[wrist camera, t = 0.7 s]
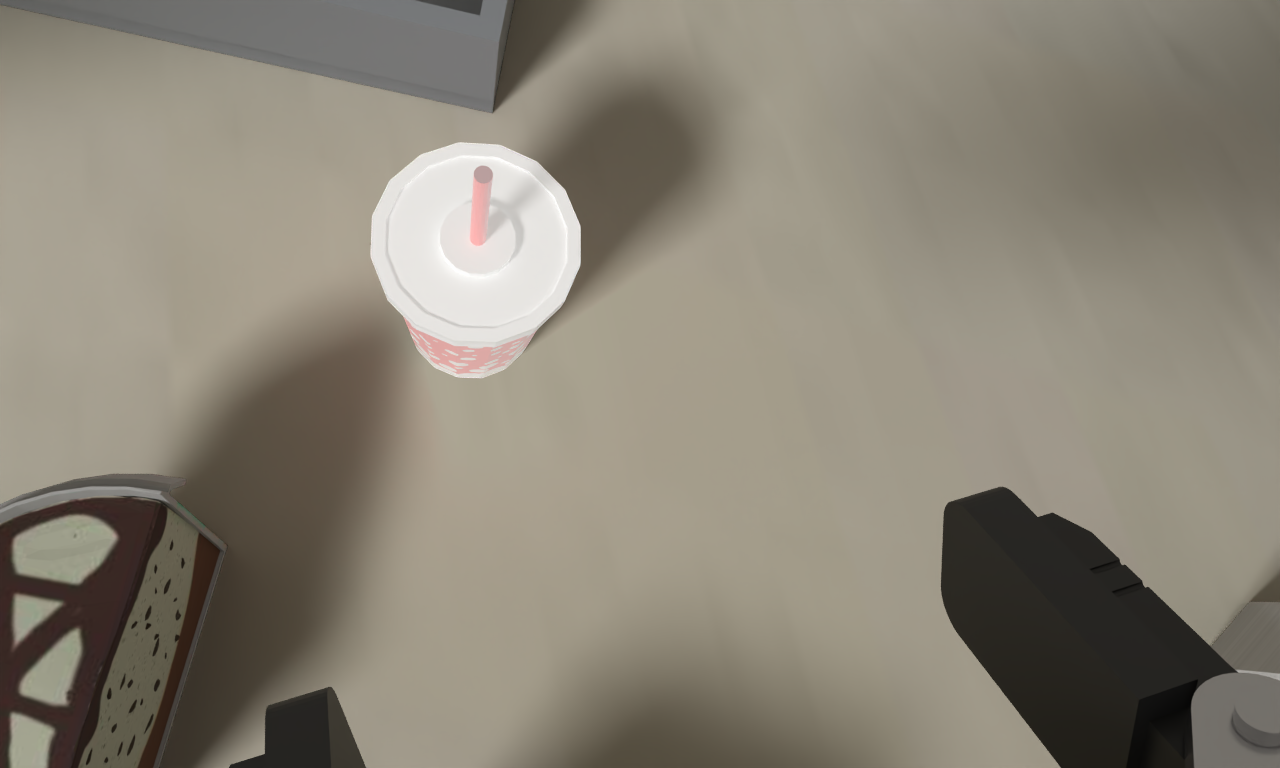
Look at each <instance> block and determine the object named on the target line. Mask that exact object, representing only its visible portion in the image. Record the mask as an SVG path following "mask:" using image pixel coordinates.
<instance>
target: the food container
mask: <svg viewBox="0 0 1280 768" xmlns="http://www.w3.org/2000/svg"><path fill="white" fill-rule="evenodd" d="M185 484H186V479H183V478H176V477H169V476H162V475H155V474H109V475H102V476H95V477H88V478H81V479H74V480H71V481H67V482H64V483H60V484H57V485H53V486H50V487H47V488H43V489H40V490H36V491H33V492H29V493H26V494H23V495H20V496H18V497H16V498H13V499H11V500H9V501H6V502H4V503H2V504H0V768H159V766H160V763H161V760H162V757H163V754H164V750H165V747H166V744H167V741H168V737H169V734H170V731H171V728H172V724H173V721H174V718H175V715H176V711H177V708H178V705H179V702H180V698H181V695H182V692H183V689H184V685H185V682H186V679H187V676H188V673H189V669H190V666H191V663H192V660H193V656H194V653H195V650H196V647H197V643H198V640H199V637H200V634H201V630H202V627H203V624H204V621H205V617H206V614H207V611H208V608H209V605H210V601H211V598H212V595H213V592H214V588H215V585H216V582H217V579H218V575H219V572H220V569H221V566H222V562H223V559H224V556H225V553H226V549H227V546H228V545H226V544H225V543H224V542H223V541H222V540H221V539H220V538H218V537H217V536H216V535H215V534H214V533H213V532H212V531H210V530H209V529H208V528H207V527H206V526H205V525H204V524H202V523H201V522H200V521H199V520H198V519H197V518H196V517H195V516H193V515H192V514H191V513H190V512H189V511H188V510H187V509H185V508H184V507H183V506H182V505H181V504H180V503H179V502H177V501H176V500H175V499H174V498H173V497H172V496H171V495H169V494H170V491H171V490H172V489H175V488H178V487H180V486H183V485H185Z"/></svg>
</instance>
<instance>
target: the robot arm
mask: <svg viewBox="0 0 1280 768" xmlns="http://www.w3.org/2000/svg"><path fill="white" fill-rule="evenodd" d="M941 592H942V598H943V602H944V606H945V609H946V612H947V614H948V617H949V619H950V621H951V623H952V625H953V627H954V629H955V630H956V632H957V633H958V635H959V636H960V637H961V638H962V640H963V641H964V642H965V644H966V645H967V646H968V648H969V649H970V650H971V651H972V653H973V654H974V655H975V657H976V658H977V659H978V661H979V662H980V663H981V664H982V666H983V667H984V668H985V670H986V671H987V672H988V673H989V675H990V676H991V677H992V679H993V680H994V681H995V683H996V684H997V685H998V686H999V688H1000V689H1001V690H1002V692H1003V693H1004V694H1005V696H1006V697H1007V698H1008V699H1009V701H1010V702H1011V703H1012V705H1013V706H1014V707H1015V708H1016V710H1017V711H1018V712H1019V714H1020V715H1021V716H1022V718H1023V719H1024V720H1025V721H1026V723H1027V724H1028V725H1029V727H1030V728H1031V729H1032V731H1033V732H1034V733H1035V734H1036V736H1037V737H1038V738H1039V740H1040V741H1041V742H1042V743H1043V745H1044V746H1045V747H1046V749H1047V750H1048V751H1049V753H1050V754H1051V755H1052V756H1053V758H1054V759H1055V760H1056V762H1057V763H1058V764H1059V766H1060V767H1061V768H1280V680H1277V679H1274V678H1271V677H1267V676H1263V675H1259V674H1252V673H1238V672H1237V671H1236V670H1235V669H1234V668H1233V667H1231V666H1230V665H1229V664H1228V663H1227V662H1226V661H1225V660H1224V659H1223V658H1222V657H1221V656H1220V655H1219V654H1218V653H1217V652H1216V651H1215V650H1214V649H1212V648H1211V647H1210V646H1209V645H1208V644H1207V643H1206V642H1205V641H1204V640H1203V639H1202V638H1201V637H1200V636H1199V635H1198V634H1197V633H1196V632H1195V631H1194V630H1193V629H1192V628H1191V627H1190V626H1189V625H1187V624H1186V623H1185V622H1184V621H1183V620H1182V619H1181V618H1180V617H1179V616H1178V615H1177V614H1176V613H1175V612H1174V611H1173V610H1172V609H1171V608H1170V607H1169V606H1168V605H1167V604H1166V603H1165V602H1164V601H1163V600H1161V599H1160V598H1159V597H1158V596H1157V595H1156V594H1155V593H1154V592H1153V591H1152V590H1151V589H1150V588H1149V587H1146V588H1145V587H1144V586H1143V583H1142V580H1141V579H1140V578H1139V577H1138V576H1136V575H1135V574H1134V573H1133V572H1132V571H1131V570H1130V569H1129V568H1128V567H1127V566H1126V565H1121V563H1120V559H1119V558H1118V557H1117V556H1116V555H1115V554H1114V553H1113V552H1111V551H1110V550H1109V549H1108V548H1107V547H1106V546H1105V545H1104V544H1103V543H1102V542H1101V541H1100V540H1099V539H1098V538H1097V537H1096V536H1095V535H1094V534H1093V533H1092V532H1090V531H1088V530H1086V529H1084V528H1082V527H1080V526H1078V525H1076V524H1074V523H1072V522H1070V521H1068V520H1066V519H1064V518H1062V517H1060V516H1058V515H1056V514H1054V513H1050V514H1047V515H1043V516H1040V517H1037V516H1036V515H1035V514H1034V513H1033V512H1032V511H1031V510H1030V509H1029V508H1028V507H1027V506H1026V505H1025V504H1024V503H1023V502H1022V501H1021V500H1020V499H1019V498H1018V497H1017V496H1016V495H1015V494H1014V493H1013V492H1012V491H1011V490H1009V489H1007V488H1005V487H998V488H994V489H991V490H988V491H984V492H981V493H978V494H975V495H971V496H968V497H965V498H961V499H958V500H955V501H951V502H949V503H948V504H947V505H946V507H945V510H944V521H943V546H942V572H941ZM229 768H366V767H365V764H364V762H363V759H362V757H361V754H360V752H359V749H358V747H357V744H356V742H355V739H354V737H353V735H352V732H351V730H350V727H349V725H348V722H347V720H346V717H345V715H344V712H343V710H342V708H341V705H340V703H339V700H338V698H337V695H336V693H335V691H334V690H333V688H332V687H328V688H324V689H321V690H318V691H314V692H311V693H308V694H305V695H301V696H298V697H295V698H291V699H288V700H285V701H281V702H278V703H275V704H271V705H269V706H268V707H267V709H266V716H265V754H264V755H260V756H257V757H254V758H251V759H247V760H244V761H241V762H238V763H235V764H231V765H230V767H229Z"/></svg>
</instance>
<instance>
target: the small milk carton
mask: <svg viewBox="0 0 1280 768" xmlns="http://www.w3.org/2000/svg"><path fill="white" fill-rule="evenodd" d="M1211 648H1212V649H1214V650H1215V651H1216V652H1217V653H1218V654H1219V655H1220V656H1221V657H1222V658H1223V659H1224V660H1225V661H1226V662H1227V663H1228V664H1229V665H1230V666H1231V667H1233V668H1234V669H1235V670H1236V671H1237V672H1238V673H1252V674H1259V675H1263V676H1267V677H1271V678H1274V679H1277V680H1280V602H1249V603H1248V604H1247V605H1246V606H1245V607H1244V609H1243V610H1242V611H1241V612H1240V613H1239V614H1238V616H1237V617H1236V618H1235V619H1234V620H1233V621H1232V623H1231V624H1230V625H1229V626H1228V627H1227V628H1226V630H1225V631H1224V632H1223V633H1222V634H1221V635H1220V637H1219V638H1218V639H1217V640H1216V641H1215V642H1214V644H1213V645H1212V646H1211Z"/></svg>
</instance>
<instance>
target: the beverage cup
mask: <svg viewBox="0 0 1280 768" xmlns="http://www.w3.org/2000/svg"><path fill="white" fill-rule="evenodd" d="M371 259H372V262H373V264H374V267H375V269H376V272H377V275H378V277H379V280H380V282H381V285H382V287H383V290H384V292H385V295H386V297H387V299H388V301H389V302H390V303H391V304H392V305H393V306H394V307H395V308H396V309H397V310H398V311H399V312H400V313H401V314H402V315H403V316H404V319H405V321H406V324H407V326H408V328H409V331H410V333H411V336H412V338H413V341H414V343H415V345H416V348H417V350H418V351H419V352H420V353H421V354H422V355H423V356H424V357H425V358H426V359H427V360H428V361H429V362H430V363H431V364H432V365H433V366H434V367H435V368H437V369H439V370H441V371H444V372H446V373H448V374H451V375H453V376H455V377H463V378H483V377H486V376H489V375H491V374H494V373H497V372H499V371H502V370H505V369H506V368H507V367H508V366H509V365H510V364H511V363H512V362H513V361H514V360H516V359H517V358H518V357H519V356H520V355H521V354H522V353H523V351H524V350H525V348H526V347H527V345H528V343H529V342H530V340H531V339H532V337H533V336H534V334H535V332H536V331H537V329H538V328H539V327H540V326H541V325H542V324H544V323H545V322H546V321H547V320H548V319H549V318H550V317H551V316H552V315H553V314H554V313H555V312H556V311H557V310H559V309H560V308H561V306H562V304H563V303H564V302H565V299H566V297H567V295H568V292H569V290H570V288H571V286H572V283H573V281H574V279H575V276H576V274H577V272H578V270H579V267H580V265H581V226H580V224H579V221H578V219H577V217H576V214H575V212H574V209H573V207H572V205H571V202H570V200H569V198H568V195H567V193H566V191H565V189H564V188H563V187H562V186H561V185H560V184H559V183H558V182H557V181H556V180H555V179H554V178H553V177H552V176H551V175H550V174H549V173H548V172H547V171H546V170H545V169H544V168H543V167H542V166H541V165H540V164H539V163H538V162H537V161H535V160H532V159H530V158H528V157H526V156H524V155H521V154H519V153H517V152H515V151H512V150H510V149H508V148H506V147H504V146H501V145H494V144H478V143H462V142H459V143H455V144H452V145H449V146H446V147H443V148H440V149H437V150H434V151H430V152H427V153H424V154H421V155H419V156H418V157H417V158H416V159H415V160H413V161H412V162H411V163H410V164H409V165H408V166H406V167H405V168H404V169H403V170H402V171H400V172H399V173H398V174H397V175H396V176H394V177H393V178H392V179H391V180H390V181H389V183H388V185H387V187H386V189H385V191H384V193H383V195H382V197H381V199H380V201H379V203H378V205H377V207H376V209H375V211H374V213H373V215H372V232H371Z"/></svg>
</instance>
